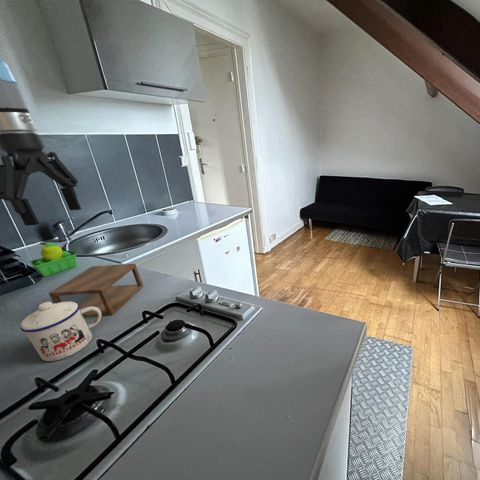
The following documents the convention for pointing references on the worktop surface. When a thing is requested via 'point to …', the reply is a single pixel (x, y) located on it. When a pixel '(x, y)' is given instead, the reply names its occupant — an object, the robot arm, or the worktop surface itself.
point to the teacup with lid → (59, 329)
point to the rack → (100, 288)
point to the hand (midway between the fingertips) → (56, 216)
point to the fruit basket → (54, 260)
